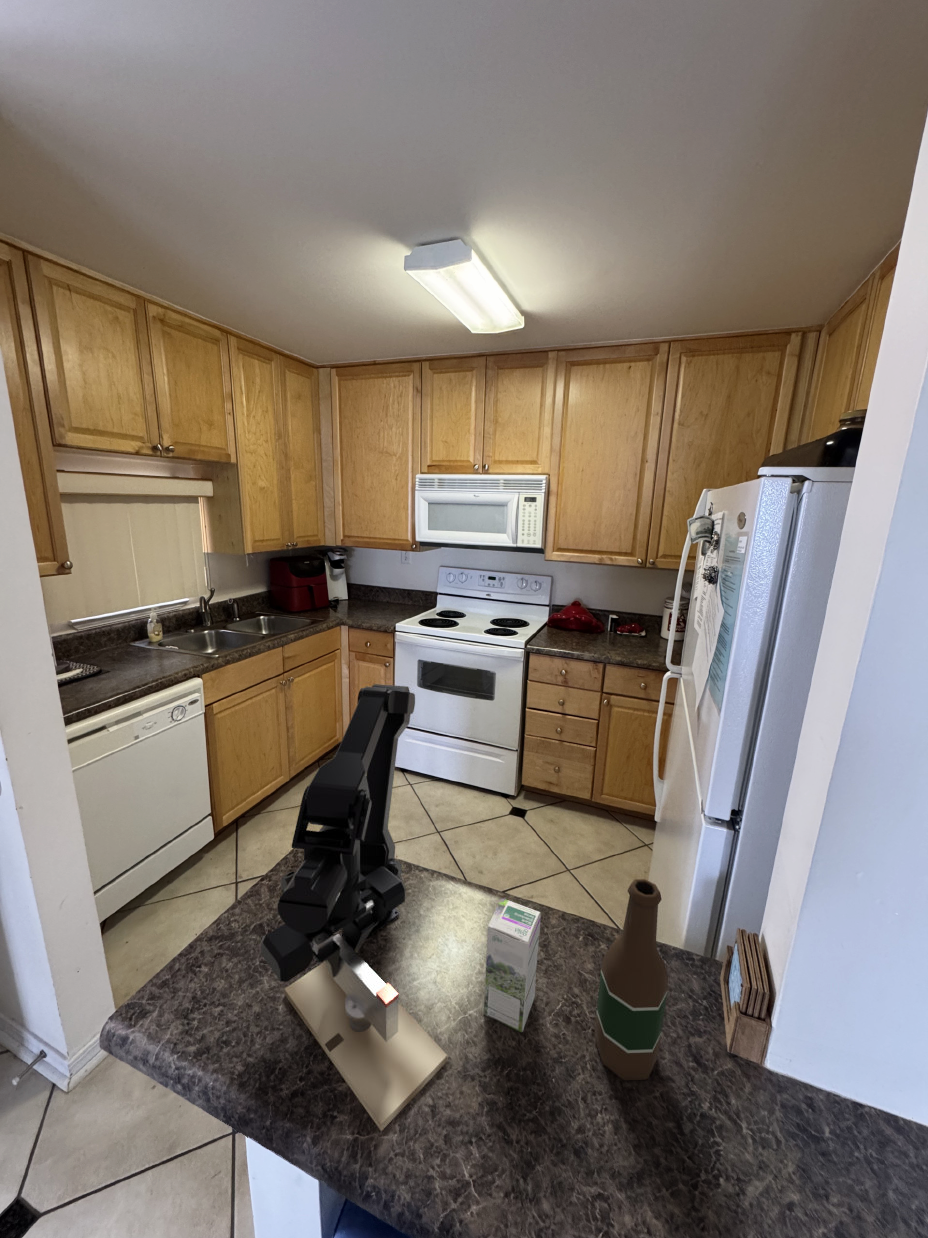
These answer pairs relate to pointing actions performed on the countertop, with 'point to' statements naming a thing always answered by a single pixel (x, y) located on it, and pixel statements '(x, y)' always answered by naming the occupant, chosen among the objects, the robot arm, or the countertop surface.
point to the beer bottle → (633, 990)
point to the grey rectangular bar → (366, 992)
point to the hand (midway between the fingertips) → (339, 970)
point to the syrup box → (511, 963)
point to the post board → (367, 1047)
